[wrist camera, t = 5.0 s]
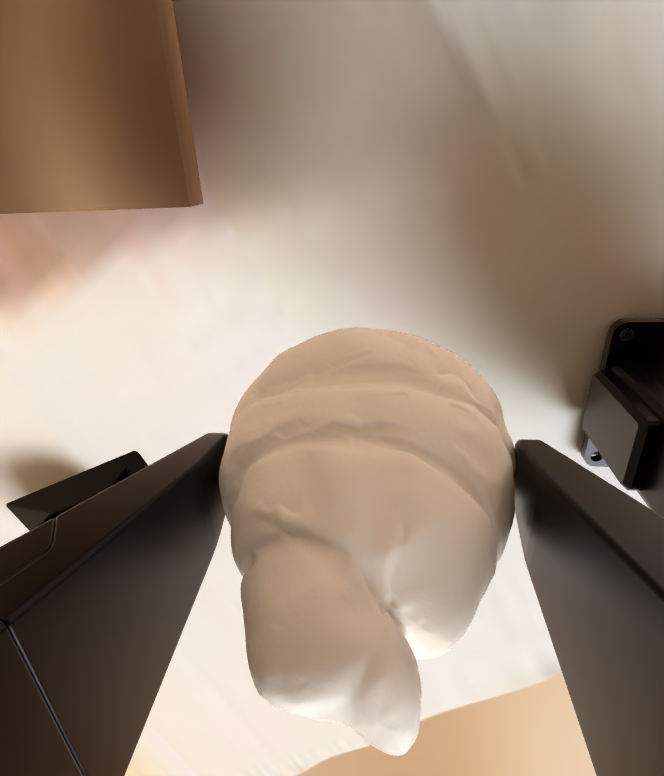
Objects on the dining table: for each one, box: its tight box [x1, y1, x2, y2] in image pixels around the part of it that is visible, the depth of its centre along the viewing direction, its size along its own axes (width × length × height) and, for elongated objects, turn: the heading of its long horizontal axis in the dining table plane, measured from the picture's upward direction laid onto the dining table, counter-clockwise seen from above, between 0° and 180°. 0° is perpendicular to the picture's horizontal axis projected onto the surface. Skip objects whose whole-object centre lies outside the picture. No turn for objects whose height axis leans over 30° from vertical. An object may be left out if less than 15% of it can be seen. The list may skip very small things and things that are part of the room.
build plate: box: [7, 451, 148, 531], centre depth 24 cm, size 12×7×5 cm, turn 116°
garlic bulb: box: [219, 327, 516, 756], centre depth 8 cm, size 6×6×5 cm
